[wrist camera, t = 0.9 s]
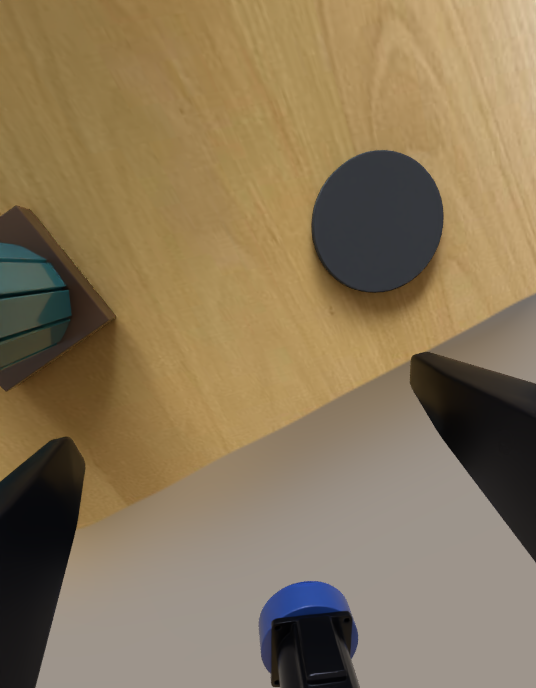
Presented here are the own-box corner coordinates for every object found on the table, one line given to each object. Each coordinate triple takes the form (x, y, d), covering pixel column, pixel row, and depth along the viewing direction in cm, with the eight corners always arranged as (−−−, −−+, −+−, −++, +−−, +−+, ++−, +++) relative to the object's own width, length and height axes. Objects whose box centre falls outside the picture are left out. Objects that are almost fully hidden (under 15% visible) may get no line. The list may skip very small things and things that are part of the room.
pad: (431, 291, 25) (436, 292, 24) (309, 292, 24) (311, 292, 24) (445, 155, 23) (451, 152, 23) (313, 149, 22) (315, 146, 22)
